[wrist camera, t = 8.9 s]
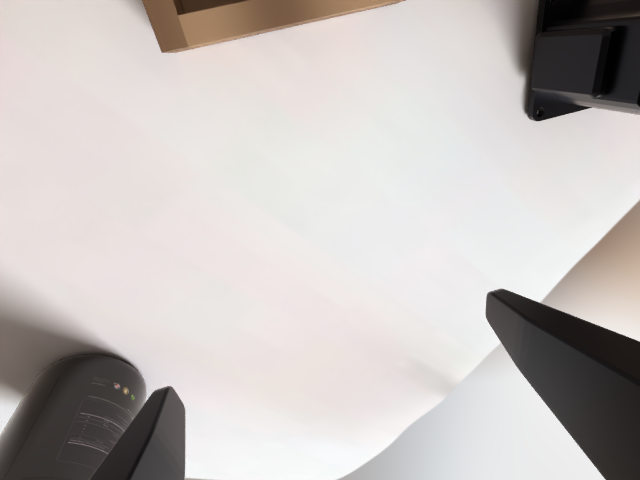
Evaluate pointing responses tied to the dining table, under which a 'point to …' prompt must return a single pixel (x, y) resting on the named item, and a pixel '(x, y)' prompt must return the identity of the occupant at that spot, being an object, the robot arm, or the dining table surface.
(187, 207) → the dining table surface
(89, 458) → the supplement bottle
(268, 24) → the walnut cradle
